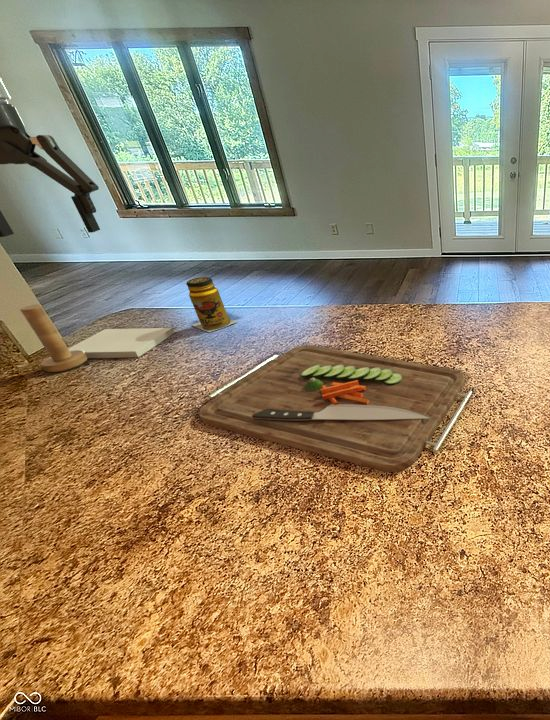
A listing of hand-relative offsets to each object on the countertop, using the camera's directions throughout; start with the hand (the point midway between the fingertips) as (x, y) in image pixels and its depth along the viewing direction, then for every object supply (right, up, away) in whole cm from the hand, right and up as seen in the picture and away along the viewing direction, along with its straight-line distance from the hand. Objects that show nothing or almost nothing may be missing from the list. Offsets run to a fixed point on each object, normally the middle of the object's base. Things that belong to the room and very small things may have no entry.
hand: (51, 233), depth 74 cm
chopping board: (+58, -32, -4) cm, 66 cm away
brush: (-1, -27, +5) cm, 27 cm away
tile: (0, -21, +14) cm, 26 cm away
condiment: (+15, -15, +24) cm, 32 cm away
